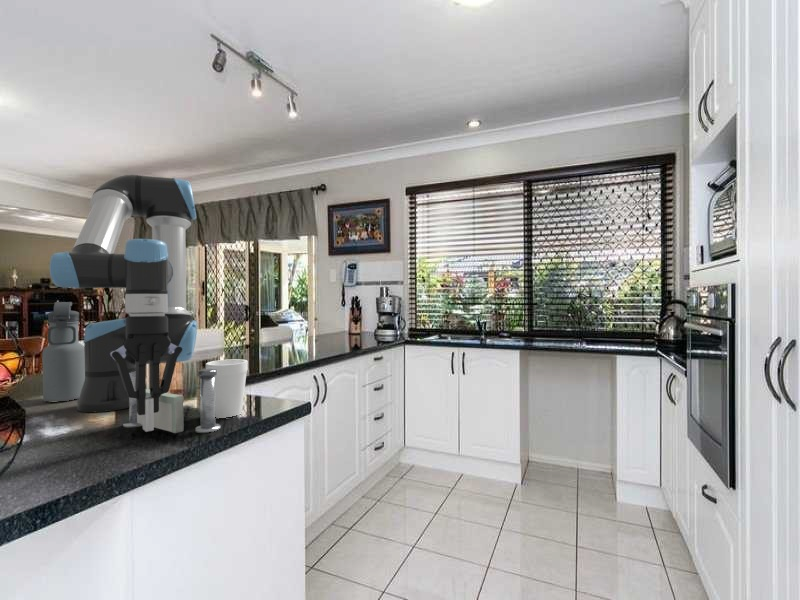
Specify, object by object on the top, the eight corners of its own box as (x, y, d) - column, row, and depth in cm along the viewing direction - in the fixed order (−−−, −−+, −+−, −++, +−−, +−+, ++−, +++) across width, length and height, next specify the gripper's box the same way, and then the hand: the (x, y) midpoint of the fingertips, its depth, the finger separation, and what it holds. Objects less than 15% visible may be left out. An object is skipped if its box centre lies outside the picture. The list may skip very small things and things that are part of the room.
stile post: (190, 432, 90) (189, 372, 90) (205, 425, 95) (205, 368, 95) (210, 434, 89) (209, 372, 89) (225, 426, 94) (224, 368, 94)
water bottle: (84, 400, 120) (82, 302, 119) (40, 405, 114) (38, 302, 114) (87, 393, 128) (86, 301, 128) (46, 397, 123) (44, 302, 123)
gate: (135, 423, 94) (135, 390, 94) (145, 420, 96) (144, 388, 96) (174, 433, 87) (174, 397, 87) (183, 430, 89) (183, 395, 89)
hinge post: (117, 427, 94) (116, 373, 94) (136, 420, 99) (135, 369, 99) (136, 428, 93) (135, 374, 93) (154, 421, 98) (153, 370, 98)
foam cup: (233, 421, 98) (232, 365, 98) (198, 419, 100) (197, 364, 99) (255, 410, 107) (254, 359, 107) (222, 408, 109) (222, 358, 109)
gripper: (113, 316, 79) (114, 441, 79) (186, 314, 88) (187, 426, 88) (105, 315, 85) (106, 432, 85) (175, 313, 94) (176, 419, 94)
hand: (148, 429), depth 86 cm, fingers closed
